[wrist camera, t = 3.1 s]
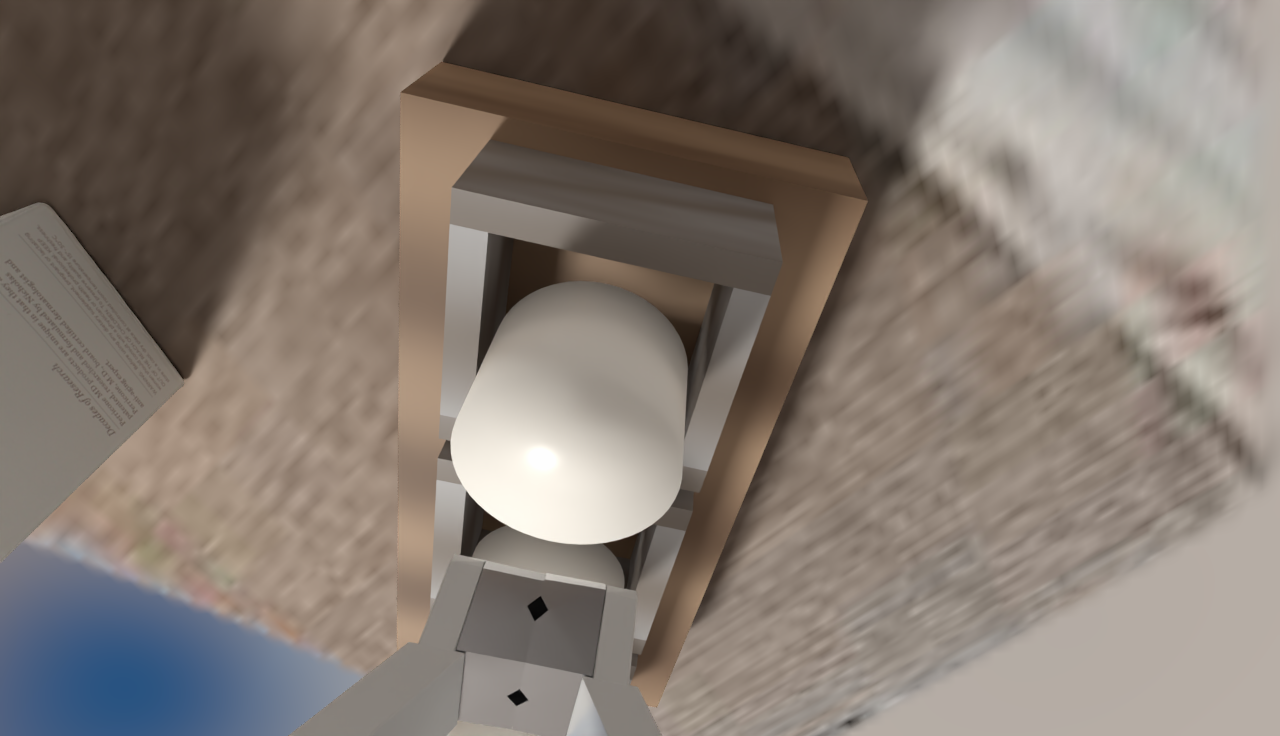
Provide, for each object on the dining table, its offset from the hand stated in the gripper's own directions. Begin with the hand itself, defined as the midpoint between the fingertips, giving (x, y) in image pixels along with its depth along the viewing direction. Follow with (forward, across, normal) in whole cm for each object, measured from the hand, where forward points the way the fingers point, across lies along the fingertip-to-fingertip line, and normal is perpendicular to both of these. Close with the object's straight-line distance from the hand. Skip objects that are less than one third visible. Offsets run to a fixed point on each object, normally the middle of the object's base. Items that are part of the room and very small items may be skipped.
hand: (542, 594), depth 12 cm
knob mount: (+12, 0, +7) cm, 14 cm away
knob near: (+6, 0, 0) cm, 6 cm away
